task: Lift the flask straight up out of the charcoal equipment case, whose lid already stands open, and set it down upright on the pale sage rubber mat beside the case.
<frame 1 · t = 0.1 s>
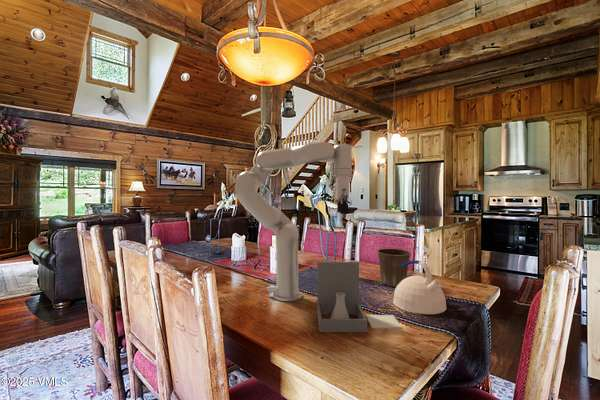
hand: (342, 213, 134), 37 cm above the table, tool pointing down, fingers open, 9 cm apart
plant pot: (393, 283, 155), on the table
rubber mat: (383, 322, 109), on the table
equipment case: (340, 322, 110), on the table
flask: (340, 322, 110), resting in equipment case
kettle: (419, 305, 126), on the table
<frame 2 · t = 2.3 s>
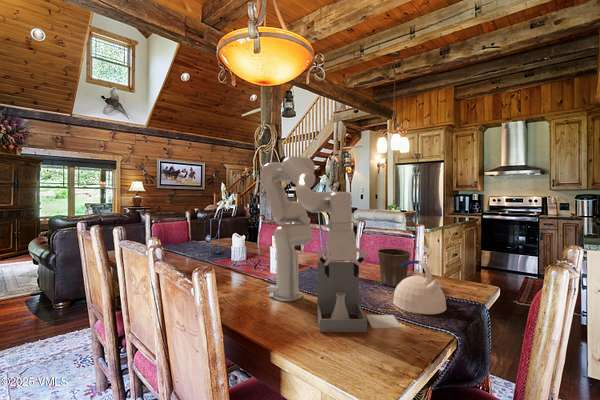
hand: (341, 276, 109), 16 cm above the table, tool pointing down, fingers open, 9 cm apart
nothing on the table moved.
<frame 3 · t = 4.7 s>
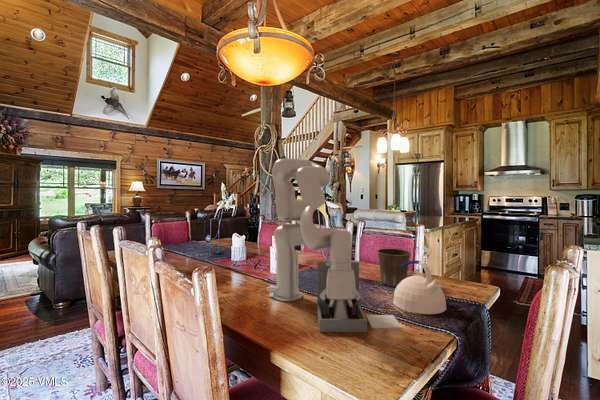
hand: (340, 316, 109), 2 cm above the table, tool pointing down, fingers closed on flask, 5 cm apart
flask: (340, 322, 110), resting in equipment case, touching gripper
everything else where it was.
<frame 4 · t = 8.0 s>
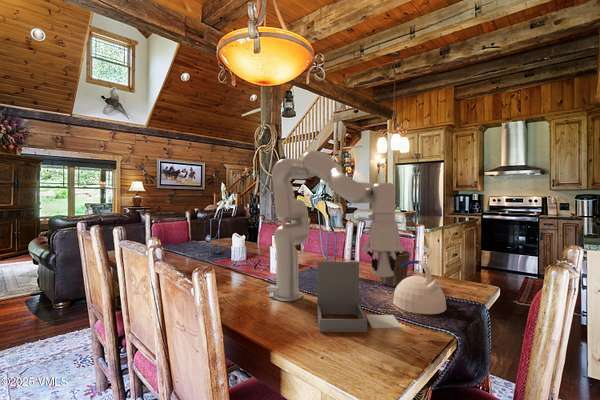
hand: (383, 269, 109), 19 cm above the table, tool pointing down, fingers closed on flask, 5 cm apart
flask: (383, 275, 109), point 17 cm above the table, touching gripper
everything else where it was.
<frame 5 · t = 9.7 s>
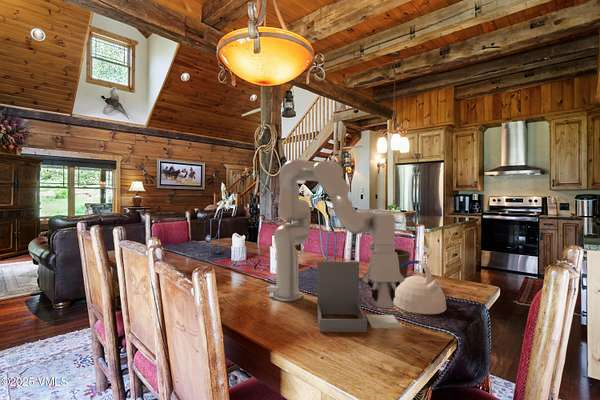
hand: (383, 299, 109), 8 cm above the table, tool pointing down, fingers closed on flask, 5 cm apart
flask: (383, 305, 109), point 6 cm above the table, touching gripper
everything else where it was.
when the fingers open (4 cm above the table, at t = 11.4 s): flask drops 1 cm, resting on rubber mat.
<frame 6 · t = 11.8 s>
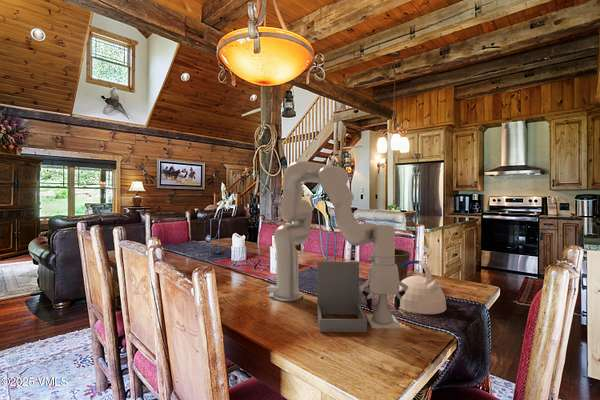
hand: (383, 308, 109), 5 cm above the table, tool pointing down, fingers open, 9 cm apart
flask: (382, 321, 109), resting on rubber mat
everything else where it was.
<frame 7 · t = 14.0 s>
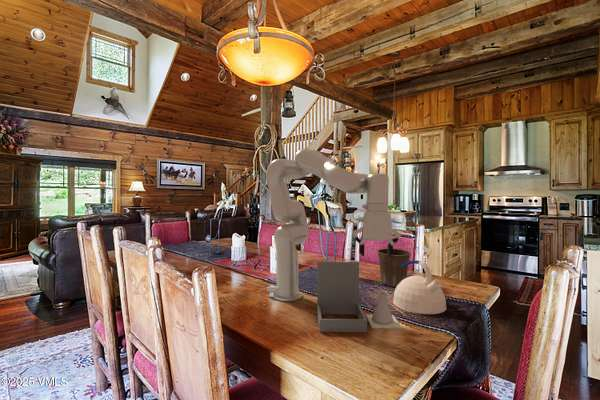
hand: (375, 255, 112), 23 cm above the table, tool pointing down, fingers open, 9 cm apart
nothing on the table moved.
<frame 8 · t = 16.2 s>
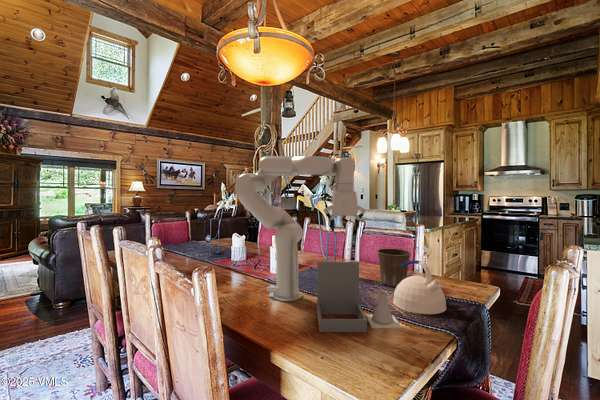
hand: (344, 229, 129), 30 cm above the table, tool pointing down, fingers open, 9 cm apart
nothing on the table moved.
at the end: flask inside the target area on the rubber mat (0.1 cm from its centre), point 0.3 cm above the rubber mat's base; flask tilted 0°; the gripper is holding nothing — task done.
